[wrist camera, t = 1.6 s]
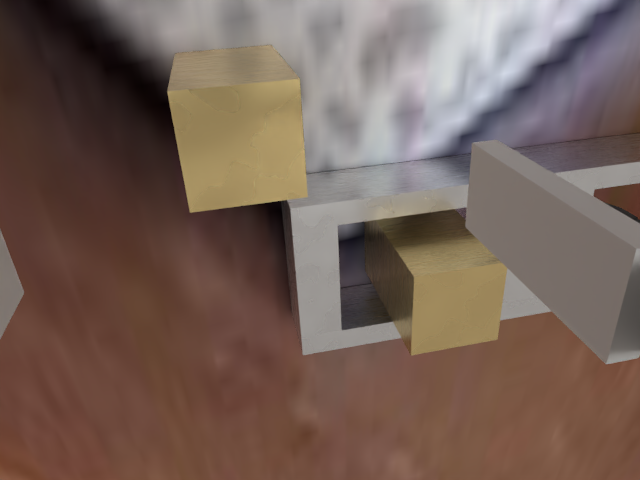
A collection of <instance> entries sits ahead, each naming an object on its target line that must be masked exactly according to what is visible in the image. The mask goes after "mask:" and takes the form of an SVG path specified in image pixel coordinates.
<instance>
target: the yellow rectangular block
mask: <svg viewBox="0 0 640 480" xmlns="http://www.w3.org/2000/svg"><path fill="white" fill-rule="evenodd" d="M167 93H168V98H169V104H170V109H171V114H172V120H173V125H174V130H175V136H176V141H177V146H178V152H179V157H180V162H181V168H182V173H183V178H184V184H185V189H186V194H187V199H188V205H189V210H190V213H191V212H199V211H206V210H214V209H222V208H229V207H237V206H245V205H252V204H260V203H267V202H275V201H283V200H290V199H298V198H305V197H308V194H307V179H306V164H305V149H304V134H303V120H302V105H301V90H300V79H299V77H298V76H297V75H296V74H295V73H294V71H293V70H292V69H291V68H290V67H289V65H288V64H287V63H286V62H285V61H284V59H283V58H282V57H281V56H280V55H279V53H278V52H277V51H276V50H275V49H274V47H273V46H272V45H264V46H252V47H240V48H228V49H217V50H205V51H193V52H182V53H175V56H174V61H173V66H172V71H171V76H170V81H169V85H168V90H167Z"/></svg>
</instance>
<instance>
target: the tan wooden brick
mask: <svg viewBox="0 0 640 480" xmlns="http://www.w3.org/2000/svg"><path fill="white" fill-rule="evenodd" d="M465 223H466V220H465V219H464V218H463V217H462V216H461V215H460V214H459V213H458V212H457V211H456V210H455V209H450V210H443V211H436V212H429V213H422V214H415V215H408V216H400V217H393V218H386V219H379V220H372V221H365V271H366V273H367V275H368V277H369V278H370V280H371V282H372V284H373V286H374V288H375V290H376V291H377V293H378V295H379V297H380V299H381V301H382V303H383V304H384V306H385V308H386V310H387V312H388V314H389V316H390V317H391V319H392V321H393V323H394V325H395V327H396V329H397V330H398V332H399V334H400V336H401V338H402V340H403V342H404V343H405V345H406V347H407V349H408V351H409V353H410V355H416V354H421V353H427V352H432V351H437V350H443V349H448V348H454V347H459V346H465V345H470V344H475V343H481V342H486V341H492V340H497V338H498V331H499V324H500V317H501V310H502V303H503V296H504V288H505V281H506V274H507V267H506V266H505V265H504V264H503V263H502V262H501V261H500V260H499V259H498V258H497V257H495V256H494V255H493V254H492V253H491V252H490V251H489V250H488V249H487V248H486V247H485V246H484V245H483V244H482V243H481V242H480V241H479V240H478V239H477V238H476V237H475V236H474V235H473V234H472V233H471V232H470V231H469V230H468V229H467V228H466V227H465Z"/></svg>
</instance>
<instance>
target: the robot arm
mask: <svg viewBox="0 0 640 480" xmlns="http://www.w3.org/2000/svg"><path fill="white" fill-rule="evenodd" d="M465 227H466V228H467V229H468V230H469V231H470V232H471V233H472V234H473V235H474V236H475V237H476V238H477V239H478V240H479V241H480V242H481V243H482V244H483V245H484V246H485V247H486V248H487V249H488V250H489V251H490V252H491V253H492V254H493V255H494V256H495V257H497V258H498V259H499V260H500V261H501V262H502V263H503V264H504V265H505V266H506V267H507V268H508V269H509V270H510V271H511V272H512V273H513V274H514V275H515V276H516V277H517V278H518V279H519V280H520V281H521V282H522V283H523V284H524V285H525V286H526V287H527V288H528V289H529V290H530V291H531V292H532V293H534V294H535V295H536V296H537V297H538V298H539V299H540V300H541V301H542V302H543V303H544V304H545V305H546V306H547V307H548V308H549V309H550V310H551V311H552V312H553V313H554V314H555V315H556V316H557V317H558V318H559V319H560V320H561V321H562V322H563V323H564V324H565V325H566V326H567V327H568V328H569V329H571V330H572V331H573V332H574V333H575V334H576V335H577V336H578V337H579V338H580V339H581V340H582V341H583V342H584V343H585V344H586V345H587V346H588V347H589V348H590V349H591V350H592V351H593V352H594V353H595V354H596V355H597V356H598V357H599V358H600V359H601V360H602V361H603V362H604V363H605V364H610V363H615V362H620V361H625V360H630V359H635V358H639V355H640V220H638V217H636V216H634V215H632V214H631V213H629V212H627V211H625V210H624V209H622V208H619V207H616V206H613V205H610V204H607V203H604V202H602V201H600V200H599V199H597V198H595V197H593V196H592V195H590V194H588V193H587V192H585V191H583V190H581V189H580V188H578V187H576V186H575V185H573V184H571V183H569V182H568V181H566V180H564V179H563V178H561V177H559V176H558V175H556V174H554V173H552V172H551V171H549V170H547V169H546V168H544V167H542V166H540V165H539V164H537V163H535V162H534V161H532V160H530V159H528V158H527V157H525V156H523V155H522V154H520V153H518V152H516V151H515V150H513V149H511V148H510V147H508V146H506V145H504V144H503V143H501V142H499V141H498V140H492V141H483V142H475V143H472V152H471V164H470V175H469V187H468V199H467V211H466V223H465ZM23 294H24V291H23V288H22V285H21V283H20V280H19V278H18V275H17V272H16V270H15V267H14V264H13V262H12V259H11V257H10V254H9V251H8V249H7V246H6V243H5V241H4V238H3V235H2V233H1V230H0V339H1V337H2V335H3V333H4V331H5V329H6V327H7V325H8V323H9V321H10V319H11V317H12V315H13V313H14V312H15V310H16V308H17V306H18V304H19V302H20V300H21V298H22V296H23Z"/></svg>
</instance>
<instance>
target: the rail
mask: <svg viewBox="0 0 640 480" xmlns="http://www.w3.org/2000/svg"><path fill="white" fill-rule="evenodd" d="M513 150H515V151H516V152H518V153H520V154H522V155H523V156H525V157H527V158H528V159H530V160H532V161H534V162H535V163H537V164H539V165H540V166H542V167H544V168H546V169H547V170H549V171H551V172H552V173H554V174H556V175H558V176H559V177H561V178H563V179H564V180H566V181H568V182H569V183H571V184H573V185H575V186H576V187H578V188H580V189H581V190H583V191H585V192H587V193H588V194H590V195H592V196H593V194H594V190H595V189H600V188H607V187H614V186H621V185H628V184H635V183H640V133H634V134H626V135H618V136H610V137H602V138H594V139H586V140H578V141H570V142H562V143H554V144H546V145H538V146H530V147H521V148H513ZM470 164H471V154H465V155H457V156H449V157H441V158H433V159H425V160H417V161H409V162H401V163H393V164H385V165H377V166H368V167H360V168H352V169H344V170H336V171H328V172H320V173H312V174H306V179H307V194H308V197H305V198H298V199H290V200H283V201H281V206H282V216H283V227H284V238H285V248H286V259H287V269H288V280H289V290H290V301H291V311H292V316H293V320H294V324H295V328H296V331H297V335H298V339H299V343H300V346H301V350H302V354H303V355H307V354H312V353H318V352H324V351H329V350H335V349H341V348H346V347H352V346H358V345H363V344H369V343H375V342H380V341H386V340H391V339H397V338H401V336H400V334H399V332H398V330H397V329H396V327H395V325H394V323H393V321H392V319H391V317H390V316H389V314H388V312H387V310H386V308H385V306H384V304H383V303H382V301H381V299H380V297H379V295H378V293H377V291H376V290H375V288H374V286H373V284H365V285H359V286H353V287H346V288H340V275H339V250H338V225H343V224H351V223H358V222H365V221H372V220H379V219H386V218H393V217H400V216H408V215H415V214H422V213H429V212H436V211H443V210H450V209H457V208H465V207H467V199H468V187H469V175H470ZM550 311H551V310H550V309H549V308H548V307H547V306H546V305H545V304H544V303H543V302H542V301H541V300H540V299H539V298H538V297H537V296H536V295H535V294H534V293H532V292H531V291H530V290H529V289H528V288H527V287H526V286H525V285H524V284H523V283H522V282H521V281H520V280H519V279H518V278H517V277H516V276H515V275H514V274H513V273H512V272H511V271H510V270H509V269H508V268H507V274H506V281H505V288H504V296H503V303H502V310H501V317H500V320H504V319H510V318H516V317H521V316H527V315H533V314H538V313H544V312H550Z"/></svg>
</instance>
